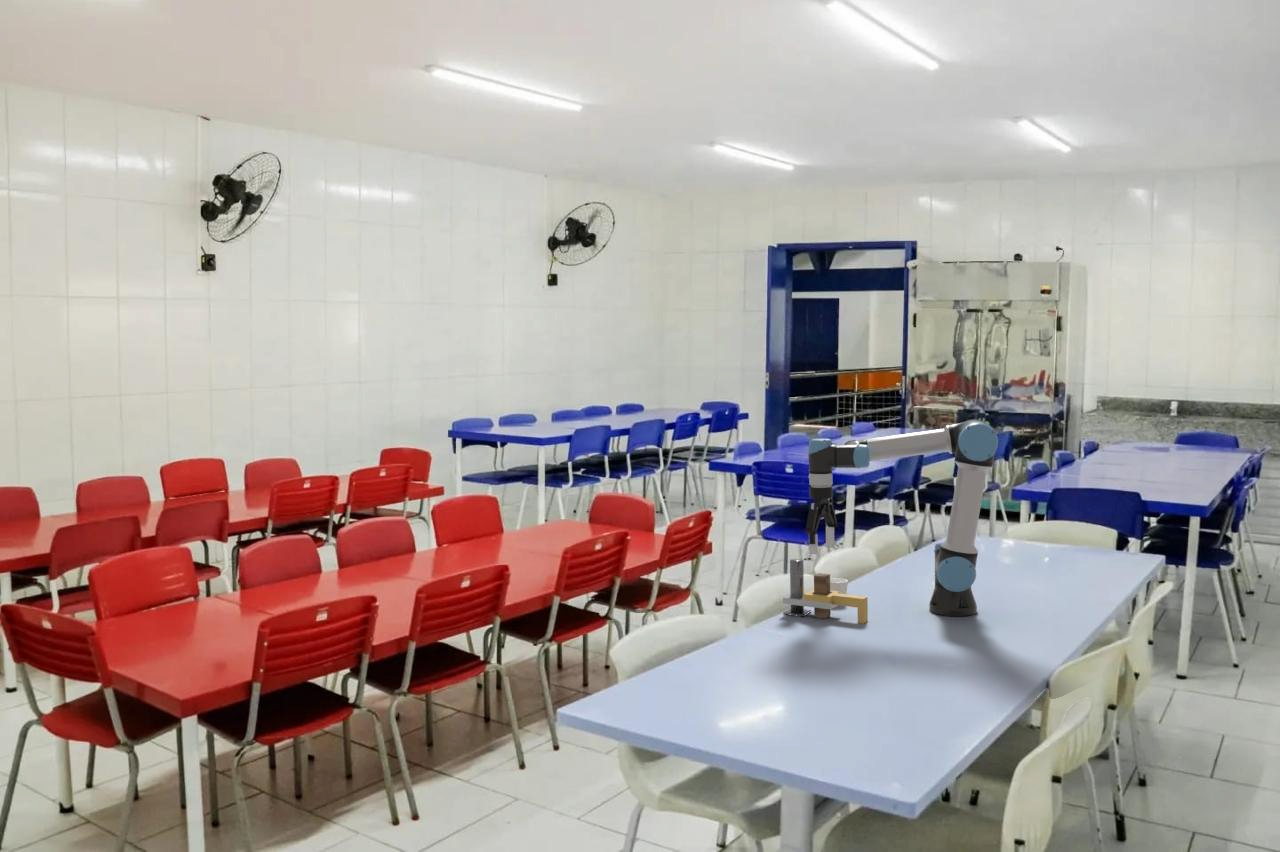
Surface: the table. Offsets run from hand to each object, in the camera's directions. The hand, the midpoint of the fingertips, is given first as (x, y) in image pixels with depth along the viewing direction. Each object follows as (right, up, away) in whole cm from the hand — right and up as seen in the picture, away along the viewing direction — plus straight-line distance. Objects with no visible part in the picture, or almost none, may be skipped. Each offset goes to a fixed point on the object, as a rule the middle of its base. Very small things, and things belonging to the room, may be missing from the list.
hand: (822, 550), depth 346 cm
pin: (0, -22, +2) cm, 22 cm away
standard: (-3, -22, +4) cm, 23 cm away
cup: (+7, -21, +20) cm, 30 cm away
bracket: (+5, -22, -1) cm, 23 cm away
